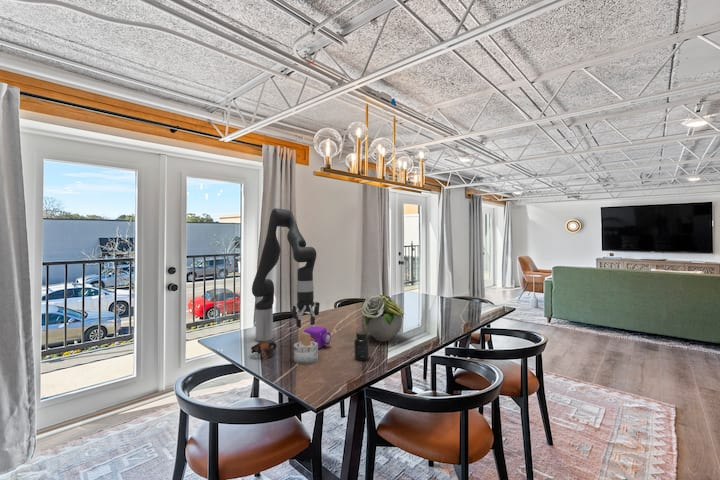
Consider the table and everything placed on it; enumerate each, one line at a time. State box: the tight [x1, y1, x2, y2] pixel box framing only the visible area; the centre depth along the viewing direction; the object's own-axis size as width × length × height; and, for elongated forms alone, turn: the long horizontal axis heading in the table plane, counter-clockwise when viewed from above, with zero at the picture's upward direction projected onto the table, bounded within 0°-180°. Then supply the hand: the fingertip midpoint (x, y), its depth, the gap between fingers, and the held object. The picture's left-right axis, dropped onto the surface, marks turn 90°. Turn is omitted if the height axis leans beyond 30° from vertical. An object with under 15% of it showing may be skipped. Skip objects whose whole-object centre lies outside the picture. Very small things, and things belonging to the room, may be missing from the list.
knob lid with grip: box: [299, 331, 313, 347], centre depth 158 cm, size 6×6×7 cm
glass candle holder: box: [293, 341, 319, 365], centre depth 158 cm, size 11×11×7 cm
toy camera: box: [303, 324, 332, 350], centre depth 177 cm, size 11×14×10 cm
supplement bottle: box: [353, 331, 370, 362], centre depth 159 cm, size 7×7×12 cm
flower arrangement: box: [360, 294, 405, 342], centre depth 188 cm, size 25×25×24 cm
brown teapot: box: [250, 341, 278, 361], centre depth 164 cm, size 12×10×8 cm
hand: (305, 326), depth 158 cm, fingers open, 6 cm apart
